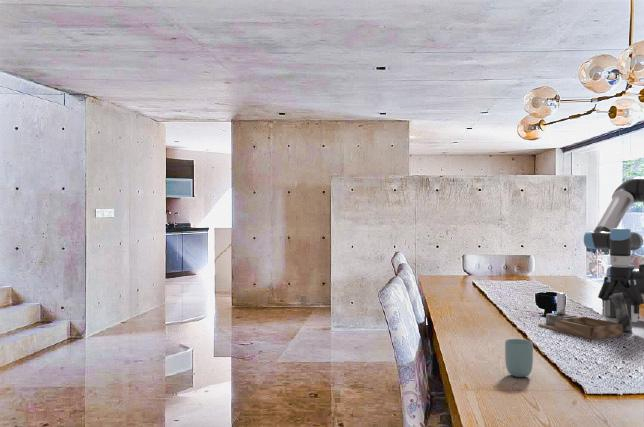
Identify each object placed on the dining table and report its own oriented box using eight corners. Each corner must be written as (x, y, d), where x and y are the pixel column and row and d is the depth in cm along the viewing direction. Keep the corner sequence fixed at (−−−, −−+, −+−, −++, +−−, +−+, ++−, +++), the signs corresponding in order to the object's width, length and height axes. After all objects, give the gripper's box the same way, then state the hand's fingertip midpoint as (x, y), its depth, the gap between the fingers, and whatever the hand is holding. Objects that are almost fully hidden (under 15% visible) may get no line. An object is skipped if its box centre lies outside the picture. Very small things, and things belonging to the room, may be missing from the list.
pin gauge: (561, 323, 251) (560, 292, 251) (567, 324, 248) (566, 293, 248) (555, 323, 250) (555, 293, 250) (561, 325, 247) (560, 294, 247)
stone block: (619, 332, 237) (633, 330, 235) (608, 297, 239) (622, 294, 236) (619, 328, 245) (633, 326, 243) (608, 294, 247) (622, 291, 244)
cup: (501, 372, 179) (501, 339, 179) (526, 371, 180) (526, 338, 180) (511, 379, 171) (511, 344, 171) (537, 378, 172) (537, 344, 172)
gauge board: (567, 323, 256) (567, 311, 256) (622, 335, 230) (622, 323, 230) (538, 326, 250) (538, 314, 250) (591, 339, 224) (591, 326, 224)
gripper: (589, 264, 251) (589, 314, 251) (640, 269, 228) (640, 324, 228) (602, 263, 254) (602, 313, 254) (654, 268, 231) (654, 323, 231)
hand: (620, 319), depth 241 cm, fingers open, 12 cm apart
